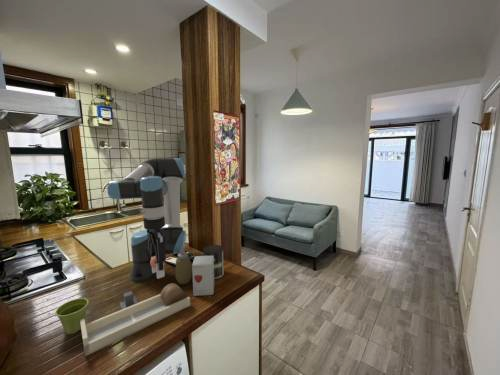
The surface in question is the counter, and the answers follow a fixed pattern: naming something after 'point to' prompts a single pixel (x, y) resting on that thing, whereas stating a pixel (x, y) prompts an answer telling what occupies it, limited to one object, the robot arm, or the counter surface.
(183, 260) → the squeeze bottle
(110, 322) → the tray
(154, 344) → the counter surface
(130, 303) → the tee
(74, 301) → the plant pot
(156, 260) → the ball
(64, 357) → the counter surface
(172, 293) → the hump
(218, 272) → the coffee can
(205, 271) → the supplement box
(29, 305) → the counter surface
